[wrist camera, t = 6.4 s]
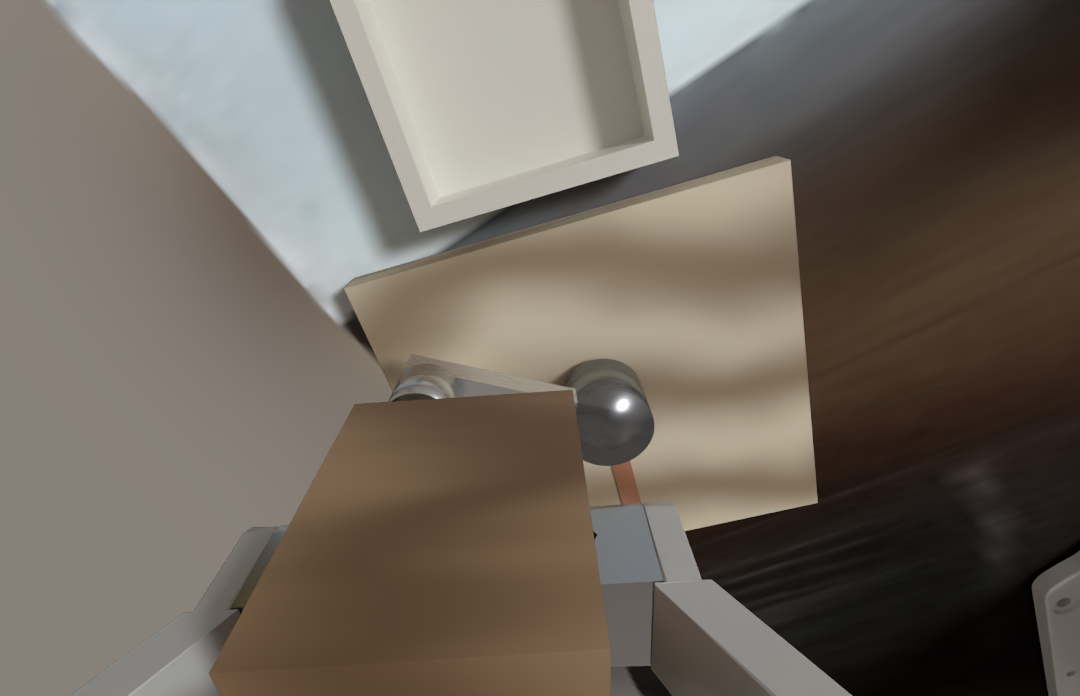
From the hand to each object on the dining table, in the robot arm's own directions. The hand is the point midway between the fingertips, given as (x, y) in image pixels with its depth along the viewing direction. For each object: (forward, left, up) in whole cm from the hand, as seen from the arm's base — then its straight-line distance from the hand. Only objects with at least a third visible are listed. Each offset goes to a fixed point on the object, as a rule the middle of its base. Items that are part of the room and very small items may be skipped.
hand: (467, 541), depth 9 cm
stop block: (0, 0, -2) cm, 2 cm away
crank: (-6, +1, -16) cm, 17 cm away
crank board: (-9, -2, -18) cm, 20 cm away
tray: (+8, -2, -18) cm, 20 cm away
